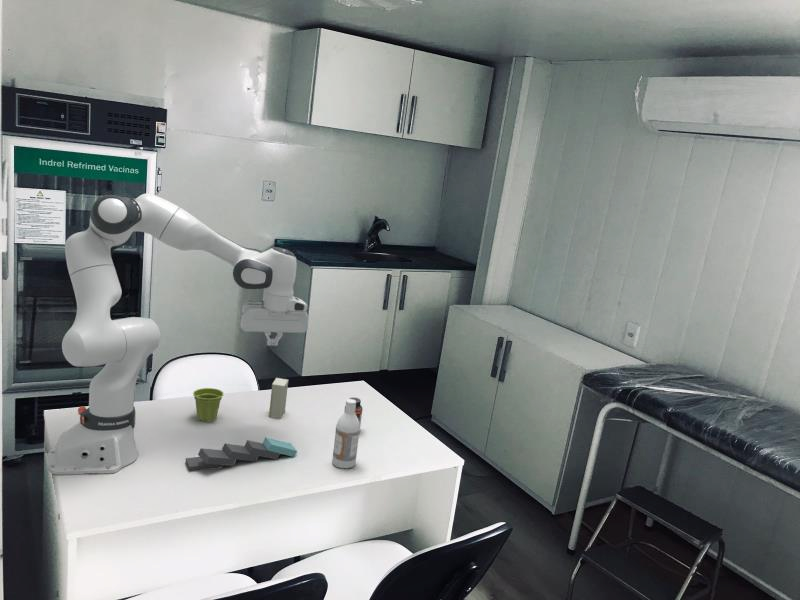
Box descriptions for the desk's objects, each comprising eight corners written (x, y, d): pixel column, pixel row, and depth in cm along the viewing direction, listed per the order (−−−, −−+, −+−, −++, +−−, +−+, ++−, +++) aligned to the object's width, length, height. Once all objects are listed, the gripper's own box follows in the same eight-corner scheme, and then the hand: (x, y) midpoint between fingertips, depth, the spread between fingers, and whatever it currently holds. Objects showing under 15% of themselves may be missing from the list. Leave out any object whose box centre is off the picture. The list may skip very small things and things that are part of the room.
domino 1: (222, 469, 176) (189, 473, 171) (218, 460, 180) (185, 464, 176) (222, 462, 175) (189, 466, 171) (218, 454, 180) (185, 458, 175)
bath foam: (327, 460, 188) (334, 397, 183) (347, 456, 192) (354, 395, 187) (339, 471, 182) (347, 407, 178) (359, 466, 187) (367, 403, 182)
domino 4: (277, 459, 184) (249, 454, 179) (271, 451, 188) (244, 446, 183) (280, 453, 184) (252, 447, 179) (273, 445, 188) (247, 440, 183)
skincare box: (272, 410, 217) (275, 377, 215) (285, 412, 217) (288, 379, 214) (268, 417, 211) (271, 383, 208) (281, 419, 211) (284, 385, 208)
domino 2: (233, 465, 177) (206, 463, 170) (224, 456, 180) (197, 454, 173) (236, 459, 176) (209, 457, 170) (227, 450, 180) (200, 448, 173)
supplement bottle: (341, 434, 206) (345, 401, 204) (342, 426, 212) (346, 395, 210) (359, 436, 207) (363, 403, 204) (359, 428, 212) (363, 397, 210)
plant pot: (188, 414, 206) (189, 389, 204) (216, 410, 211) (218, 386, 209) (196, 425, 198) (197, 400, 196) (225, 422, 204) (227, 397, 202)
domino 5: (290, 443, 191) (265, 436, 186) (297, 450, 187) (271, 444, 182) (288, 449, 191) (262, 443, 186) (294, 457, 187) (268, 450, 182)
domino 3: (255, 461, 181) (229, 458, 175) (248, 453, 185) (221, 449, 179) (258, 455, 181) (232, 451, 175) (250, 447, 185) (224, 443, 179)
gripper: (245, 303, 181) (240, 348, 185) (312, 306, 191) (306, 348, 194) (240, 297, 187) (235, 341, 190) (306, 300, 196) (300, 342, 199)
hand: (272, 345), depth 192 cm, fingers closed
